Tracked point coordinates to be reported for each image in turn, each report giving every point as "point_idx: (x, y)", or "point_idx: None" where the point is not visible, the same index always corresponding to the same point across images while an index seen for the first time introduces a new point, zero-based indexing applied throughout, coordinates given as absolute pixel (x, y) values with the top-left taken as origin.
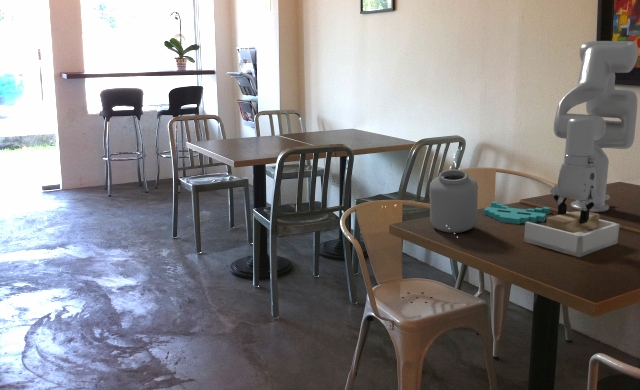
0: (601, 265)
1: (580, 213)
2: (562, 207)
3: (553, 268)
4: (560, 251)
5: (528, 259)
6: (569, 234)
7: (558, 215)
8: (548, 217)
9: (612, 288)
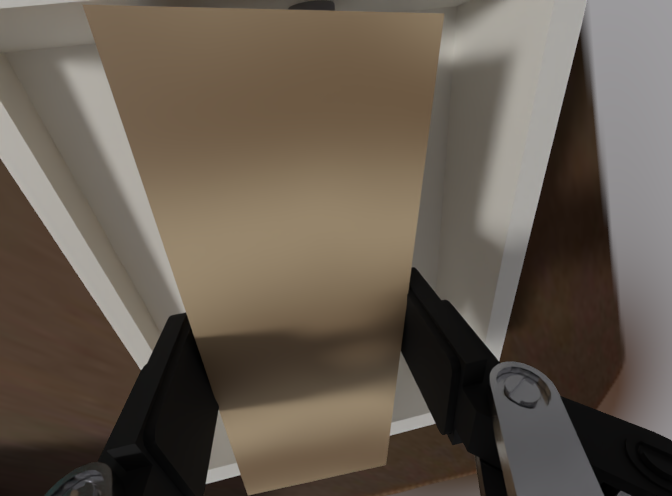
0: (521, 326)
1: (429, 408)
2: (195, 468)
3: (435, 430)
4: None
5: None
6: (426, 420)
7: (237, 428)
8: (252, 490)
9: (584, 396)
